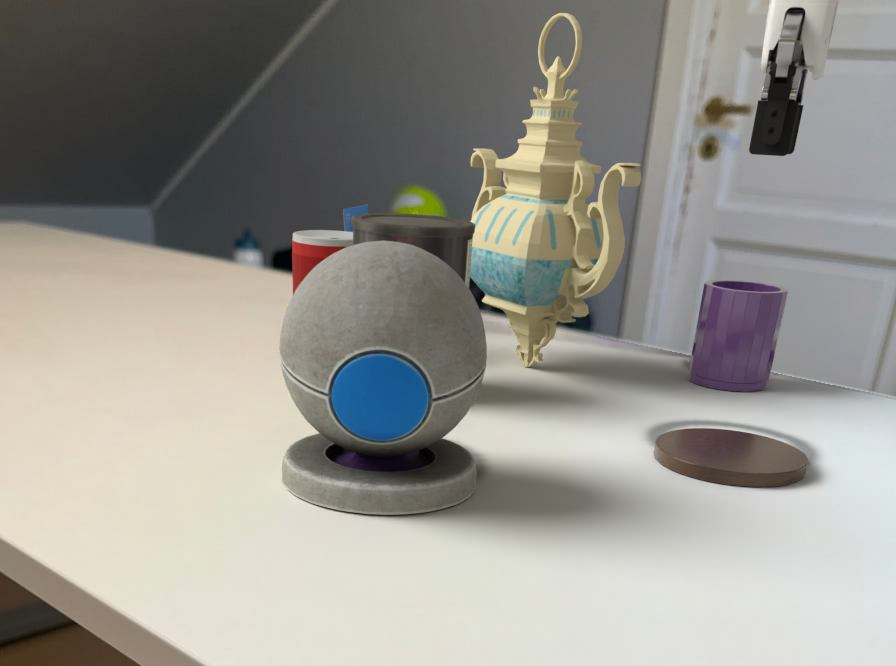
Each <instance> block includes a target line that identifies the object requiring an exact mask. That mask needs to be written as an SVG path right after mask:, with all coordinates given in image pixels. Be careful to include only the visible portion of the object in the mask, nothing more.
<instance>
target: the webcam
mask: <svg viewBox="0 0 896 666" xmlns="http://www.w3.org/2000/svg"><path fill="white" fill-rule="evenodd" d="M482 316H483V315H482V313H481V311H480V307H479V304H478V303H477V301H476V298H475V295H473V293H472V291H471V289H470V287H469V288H468V286H467V285H466V284H465V282H464V281H463V280H462V279H461V277H460V276H459V275H458V274H457V273H456V272H455V271H454V270H453V269H452V268H451V267H450V266H449V265H448V264H446V263H445V262H444V261H442V260H441V259H440V258H438V257H437V256H435V255H433V254H431V253H429V252H427V251H425V250H423V249H421V248H419V247H416V246H414V245H410V244H405V243H401V242H393V241H371V242H364V243H360V244H356V245H352V246H349V247H346V248H344V249H342V250H340V251H337V252H335V253H333V254H332V255H330V256H329V257H327V258H326V259H324V260H323V261H321V262H320V263H319V264H318V265H316V266H315V267H314V268H313V269H312V270H311V271H310V272H309V273H308V275H307V276H306V277H305V278H304V280H303V281H302V282H301V283H300V285H299V286H298V288H297V289H296V291H295V293H294V295H293V294H292V297H291V299H290V300H289V303H288V305H287V307H286V310H285V314H284V316H283V321H282V327H281V332H280V337H279V363H280V367H281V372H282V375H283V379H284V383H285V386H286V389H287V391H288V393H289V395H290V397H291V399H292V401H293V403H294V405H295V406H296V408H297V409H298V411H299V412H300V414H301V415H302V416H303V418H304V419H305V420H306V422H307V423H308V424H309V425H310V426H312V428H314V430H316V431H317V432H318V433H315V434H312V435H307V436H305V437H304V438H301V439H299V440H297V441H295V442H293V443H292V444H290V445H289V446H288V448H287V449H286V450H285V452H284V455H283V457H282V463H281V464H282V465H281V480H282V484H283V485H284V487H285V488H286V489H287V490H288V491H289V492H290V493H292V495H294V496H296V497H297V498H300V499H301V500H304V501H306V502H308V503H311V504H313V505H317V506H320V507H324V508H328V509H331V510H335V511H342V512H346V513H355V514H356V513H357V514H365V515H383V516H389V515H391V516H393V515H413V514H423V513H429V512H434V511H439V510H444V509H447V508H449V507H453V506H456V505H459V504H460V503H463V502H464V501H466V500H467V499H469V498H470V497H471V496H472V495H473V494H474V493H475V491H476V490H477V481H478V467H477V461H476V459H475V457H474V456H473V454H472V453H471V452H470V451H469V450H468V449H467V448H465V447H463V446H461V445H460V444H458V443H456V442H454V441H451V440H449V439H446V438H445V437H446V436H447V435H448V434H449V433H451V431H453V430H454V429H455V428H456V427H457V426H458V425H459V423H460V422H461V421H463V419H464V418H465V417H466V416H467V414H468V412H469V411H470V409H471V408H472V407H473V404H474V403H475V401H476V398H477V397H478V396H479V395H478V394H479V392H480V390H481V386H482V384H483V380H484V376H485V372H486V368H487V360H488V350H487V349H488V348H487V347H488V345H487V337H486V329H485V322H484V319H483V317H482Z"/></svg>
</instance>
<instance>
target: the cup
mask: <svg viewBox="0 0 896 666" xmlns="http://www.w3.org/2000/svg"><path fill="white" fill-rule="evenodd" d="M789 292H790V291H789V289H788V288H786V287H784V286H780V285H777V284H772V283H765V282H760V281H751V280H750V281H749V280H740V279H739V280H737V279H713V280H707V281H705V282H704V284H703V289H702V295H701V300H700V305H699V310H698V312H699V313H698V317H697V322H696V327H695V334H694V338H693V339H694V340H693V343H692V350H691V356H690V362H689V367H688V375H687V378H688V381H690V382H691V383H693V384H696V385H698V386H701V387H705V388H708V389H714V390H719V391H727V392H740V393H744V392H745V393H748V392H749V393H750V392H758V391H759V392H760V391H763V390H766V389H767V388H768V385H769V381H770V377H771V373H772V368H773V365H774V364H773V363H774V359H775V354H776V350H777V345H778V340H779V335H780V332H781V326H782V322H783V317H784V313H785V308H786V303H787V301H788V300H787V299H788V296H789V295H788V294H789Z"/></svg>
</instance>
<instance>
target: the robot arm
mask: <svg viewBox="0 0 896 666" xmlns="http://www.w3.org/2000/svg"><path fill="white" fill-rule="evenodd" d="M839 2H840V1H839V0H769V3H768V9H767V16H766V21H765V29H764V36H763V43H762V51H761V61H760V70H761V72H762V73H763V74H764V75H765V77H764V82H763V86H762V90H761V96H760V100H759V99H758V100H757V105H756V109H755V110H756V111H755V115H754V121H753V126H752V130H751V137H750V142H749V148H748V152H749V153H750V155H755V156H756V155H757V156H775V157H785V156H788V155H792V154H793V153H795V149H796V144H797V139H798V134H799V129H800V125H801V121H802V114H803V110H804V106H805V105H803V104H802V102H803V98H804V94H805V93H804V92H805V88H806V81H807V76H808V72H810V73H811V78H812V80H814V81H818V80H820V79H821V78H822V77H824V72H825V67H826V63H827V58H828V53H829V49H830V44H831V37H832V33H833V29H834V26H835V25H834V24H835V21H836V20H835V19H836V14H837V10H838V5H839Z"/></svg>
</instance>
